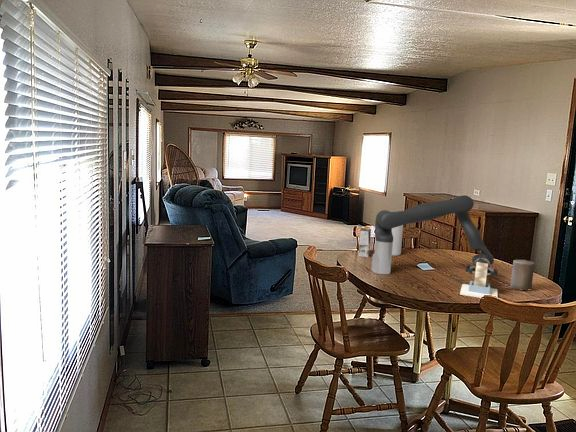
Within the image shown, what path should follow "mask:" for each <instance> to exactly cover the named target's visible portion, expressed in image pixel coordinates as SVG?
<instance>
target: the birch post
mask: <svg viewBox="0 0 576 432" xmlns="http://www.w3.org/2000/svg"><path fill="white" fill-rule="evenodd" d="M487 268H488V264H487V263H480V262H477V263H476V271H475V273H474V280H473V281H474V285H475V286H481V287H485V285H486V283H487V276H488V275H487Z"/></svg>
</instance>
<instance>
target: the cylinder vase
mask: <svg viewBox="0 0 576 432" xmlns="http://www.w3.org/2000/svg"><path fill="white" fill-rule="evenodd" d="M403 232H404V225H401V226H398V227H395V228H392V235H393V248H392V256H394V257H396V256H397V257H398V256H401V254H402V253H401V252H402V242H403Z"/></svg>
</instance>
